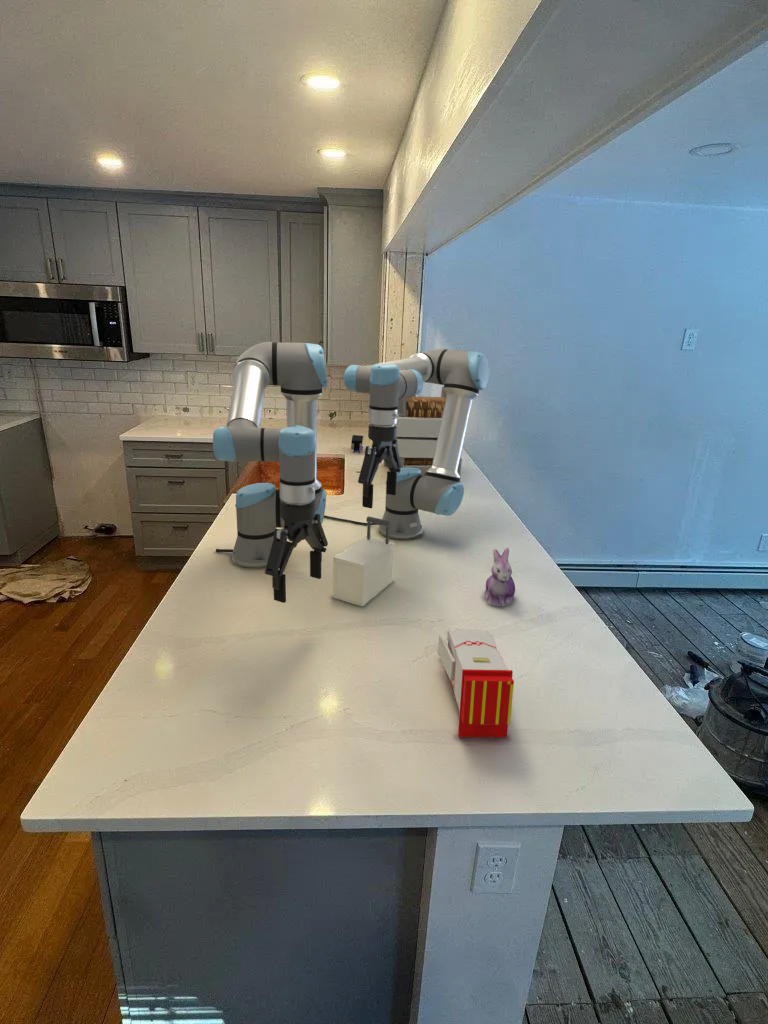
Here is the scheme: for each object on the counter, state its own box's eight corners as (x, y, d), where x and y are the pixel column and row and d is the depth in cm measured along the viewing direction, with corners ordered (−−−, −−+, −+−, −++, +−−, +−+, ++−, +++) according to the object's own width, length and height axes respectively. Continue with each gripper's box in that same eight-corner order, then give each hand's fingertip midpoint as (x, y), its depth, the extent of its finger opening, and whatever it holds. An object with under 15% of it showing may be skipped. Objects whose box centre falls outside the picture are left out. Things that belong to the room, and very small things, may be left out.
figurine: (497, 611, 151) (503, 559, 146) (474, 594, 159) (479, 545, 154) (524, 604, 155) (532, 554, 150) (501, 588, 163) (507, 540, 158)
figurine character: (362, 456, 306) (363, 447, 319) (363, 443, 302) (363, 434, 316) (350, 456, 306) (351, 446, 319) (350, 442, 302) (351, 433, 316)
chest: (364, 574, 169) (365, 540, 165) (392, 581, 165) (394, 547, 161) (332, 597, 154) (333, 561, 151) (362, 606, 150) (363, 569, 147)
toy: (488, 613, 130) (523, 677, 101) (484, 667, 133) (517, 744, 104) (435, 612, 130) (455, 676, 101) (432, 666, 133) (451, 743, 103)
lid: (367, 539, 166) (367, 513, 163) (395, 546, 162) (396, 520, 159) (333, 561, 151) (333, 532, 148) (363, 569, 147) (364, 540, 144)
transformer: (382, 463, 289) (386, 382, 275) (445, 464, 293) (451, 384, 279) (390, 482, 257) (394, 392, 243) (460, 483, 261) (468, 394, 247)
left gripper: (275, 520, 110) (277, 616, 117) (343, 489, 131) (341, 572, 138) (245, 513, 113) (249, 607, 120) (316, 483, 134) (316, 565, 141)
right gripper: (372, 434, 138) (369, 516, 145) (415, 419, 159) (411, 491, 166) (345, 430, 141) (344, 510, 148) (391, 416, 162) (388, 487, 169)
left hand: (298, 588), depth 129 cm, fingers open, 13 cm apart
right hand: (379, 500), depth 157 cm, fingers open, 13 cm apart
